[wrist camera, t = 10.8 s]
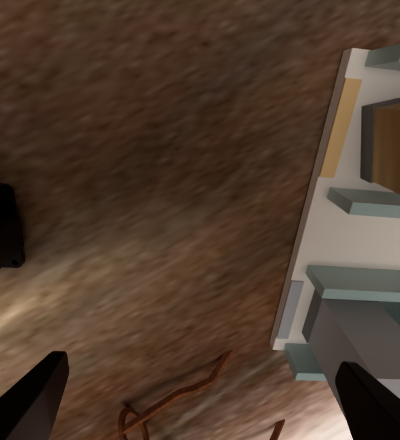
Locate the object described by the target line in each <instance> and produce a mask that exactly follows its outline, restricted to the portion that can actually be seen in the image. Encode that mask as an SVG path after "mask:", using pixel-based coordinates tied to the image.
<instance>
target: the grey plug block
mask: <svg viewBox="0 0 400 440" xmlns="http://www.w3.org/2000/svg"><path fill="white" fill-rule="evenodd" d="M378 302H379V301H367V300H347V299H327V298H321V296H320V295H319V293H318V292H317V290H316V289H315V290H314V293H313V297H312V300H311V303H310V306H309V309H308V313H307V316H306V319H305V322H304V326H303V329H302V334H303V336H304V338H305V340H306V343H309V345H310V347H311V349H312V351H313V353H314V355H315V357H316V359H317V361H318V363H319V365H320V367H321V369H322V371H323V373H324V376H325V378H326V380H327V382H328V384H329V386H330V388H331V390H332V392H333V394H334V396H335V398H336V400H337V402H338V404H339V406H340V408H341V410H342V412H343V414H344V411H343V407H342V404H341V401H340V398H339V395H338V392H337V388H336V385H335V376H336V374H337V371H338V369H339V366H340V364H341V362H342V361H354V362H356V363H358V364H359V365H360V366H361V367H363V368H364V369H365V370H366V371H367V372H369V373H370V374H371V375H372V376H373V377H375V378H376V379H377V380H378V381H379V382H381V383H382V384H383V385H384V386H385V387H387V388H388V389H389V390H390V391H391V392H393V393H394V394H395V395H396V396H397V397H399V398H400V326H399V325H398V324H397V322H396V321H395V320H394V319H393V318H392V317H391V316H390V315H389V314H388V313H387V312H386V310H385V309H384V308H383V307H382V306H381V305H380V304H379V303H378ZM344 416H345V414H344ZM345 418H346V417H345ZM346 421H347V420H346Z"/></svg>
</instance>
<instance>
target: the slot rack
mask: <svg viewBox="0 0 400 440" xmlns="http://www.w3.org/2000/svg"><path fill="white" fill-rule="evenodd" d="M395 98H400V44H396V45H392V46H387V47H383V48H379V49H375V50H365V49H356V48H351V49H347V50H344V51H343V55H342V59H341V63H340V67H339V71H338V75H337V79H336V82H335V86H334V90H333V94H332V98H331V102H330V106H329V110H328V114H327V118H326V122H325V126H324V130H323V134H322V138H321V141H320V145H319V149H318V153H317V157H316V161H315V165H314V169H313V173H312V177H311V181H310V185H309V189H308V193H307V197H306V200H305V204H304V208H303V212H302V216H301V220H300V224H299V228H298V232H297V236H296V240H295V244H294V248H293V252H292V256H291V259H290V263H289V267H288V271H287V275H286V279H285V283H284V287H283V291H282V295H281V299H280V303H279V307H278V311H277V314H276V318H275V322H274V326H273V330H272V334H271V338H270V343H271V346H272V349H273V350H284V352H285V355H286V357H287V360H288V363H289V365H290V368H291V371H292V373H293V376H294V378H295V380H311V381H327V380H326V378H325V376H324V373H323V371H322V369H321V367H320V365H319V363H318V361H317V359H316V357H315V355H314V353H313V351H312V349H311V347H310V345H309V343H306V340H305V338H304V336H303V334H302V329H303V326H304V322H305V319H306V316H307V313H308V309H309V306H310V303H311V300H312V297H313V293H314V290H315V289H316V290H317V292H318V293H319V295H320V296H321V298H327V299H347V300H367V301H379V302H378V303H379V304H380V305H381V306H382V307H383V308H384V309H385V310H386V312H387V313H388V314H389V315H390V316H391V317H392V318H393V319H394V320H395V321H396V322H397V324H398V325H399V326H400V194H398V193H395V192H393V191H391V190H389V189H387V188H385V187H383V186H381V185H378V184H376V183H369V182H367V181H365V180H363V179H361V178H360V160H361V109H362V106H364V105H368V104H373V103H377V102H382V101H386V100H391V99H395Z"/></svg>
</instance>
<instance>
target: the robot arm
mask: <svg viewBox="0 0 400 440" xmlns="http://www.w3.org/2000/svg"><path fill="white" fill-rule="evenodd" d="M2 189H3V190H4V191H5V192H6V194H4V193H3V192H2ZM23 247H24V242H23V236H22V230H21V224H20V219H19V216H18V215H17V211H16V206H15V200H14V194H13V190H12V188H11V187H10V186H9V185H7V184H0V268H1V267H11V268H19V267H21V266H22V265H23V264H24V262H25V257H24V252H23ZM15 259H16V260H18V262H16V261H15ZM68 375H69V365H68V357H67V353H66V352H65V351H53V352H51V353H50V354H48V355H47V356H46V357H45V358H44V359H43V360H42V361H41V362H39V363H38V364H37V365H36V366H35V367H34V368H33V369H32V370H30V371H29V372H28V373H27V374H26V375H25V376H24V377H23V378H21V379H20V380H19V381H18V382H17V383H16V384H15V385H14V386H12V387H11V388H10V389H9V390H8V391H7V392H6V393H5V394H3V395H2V396H1V397H0V440H48V439H49V437H50V434H51V431H52V428H53V425H54V422H55V419H56V416H57V412H58V409H59V406H60V402H61V399H62V396H63V392H64V389H65V386H66V383H67V379H68ZM335 385H336V388H337V392H338V395H339V398H340V401H341V404H342V407H343V411H344V414H345V417H346V420H347V423H348V426H349V429H350V432H351V435H352V438H353V440H400V398H399V397H397V396H396V395H395V394H394V393H393V392H391V391H390V390H389V389H388V388H387V387H385V386H384V385H383V384H382V383H381V382H379V381H378V380H377V379H376V378H375V377H373V376H372V375H371V374H370V373H369V372H367V371H366V370H365V369H364V368H363V367H361V366H360V365H359V364H358V363H356V362H354V361H342V362H341V364H340V366H339V369H338V371H337V374H336V376H335Z"/></svg>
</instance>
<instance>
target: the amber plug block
mask: <svg viewBox="0 0 400 440" xmlns="http://www.w3.org/2000/svg"><path fill="white" fill-rule="evenodd" d="M360 178H361V179H363V180H365V181H367V182H369V183H376V184H378V185H381V186H383V187H385V188H387V189H389V190H391V191H393V192H395V193H398V194H400V98H395V99H391V100H386V101H382V102H377V103H373V104H368V105H364V106H362V109H361V160H360Z"/></svg>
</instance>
